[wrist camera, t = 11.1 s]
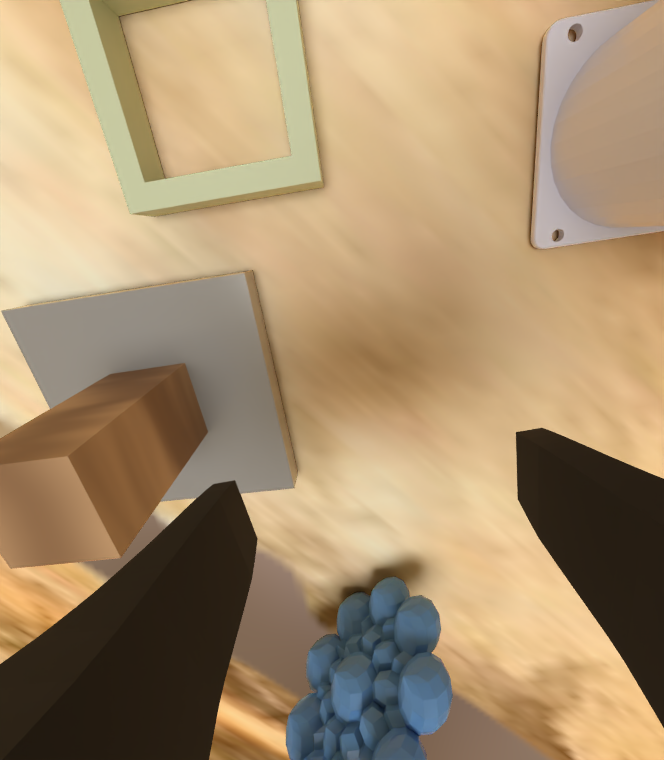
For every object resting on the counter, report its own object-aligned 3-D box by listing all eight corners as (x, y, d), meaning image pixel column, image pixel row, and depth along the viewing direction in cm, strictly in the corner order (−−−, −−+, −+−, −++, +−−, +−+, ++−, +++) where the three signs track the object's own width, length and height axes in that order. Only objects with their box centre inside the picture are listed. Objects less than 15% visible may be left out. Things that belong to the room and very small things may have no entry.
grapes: (340, 655, 28) (338, 926, 17) (279, 612, 27) (233, 883, 15) (460, 589, 25) (553, 872, 14) (400, 535, 23) (451, 809, 12)
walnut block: (185, 362, 17) (67, 456, 10) (208, 432, 19) (121, 557, 12) (110, 374, 18) (-57, 471, 10) (138, 441, 19) (10, 568, 12)
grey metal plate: (252, 270, 17) (244, 273, 16) (297, 471, 22) (294, 488, 20) (27, 305, 18) (0, 310, 17) (114, 490, 23) (99, 507, 21)
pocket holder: (289, -61, 13) (280, -112, 11) (323, 187, 16) (321, 180, 14) (84, -13, 13) (42, -52, 12) (154, 216, 16) (130, 214, 14)
